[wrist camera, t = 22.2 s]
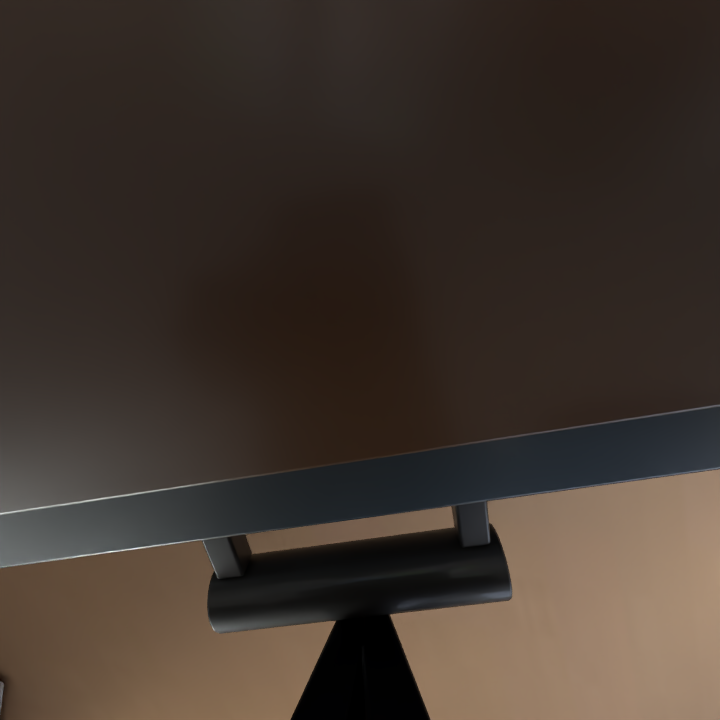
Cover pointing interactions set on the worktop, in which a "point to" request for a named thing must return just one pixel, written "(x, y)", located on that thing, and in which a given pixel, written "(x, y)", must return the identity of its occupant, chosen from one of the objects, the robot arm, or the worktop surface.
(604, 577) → the worktop surface
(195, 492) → the drawer
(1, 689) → the light bulb box
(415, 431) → the cabinet
